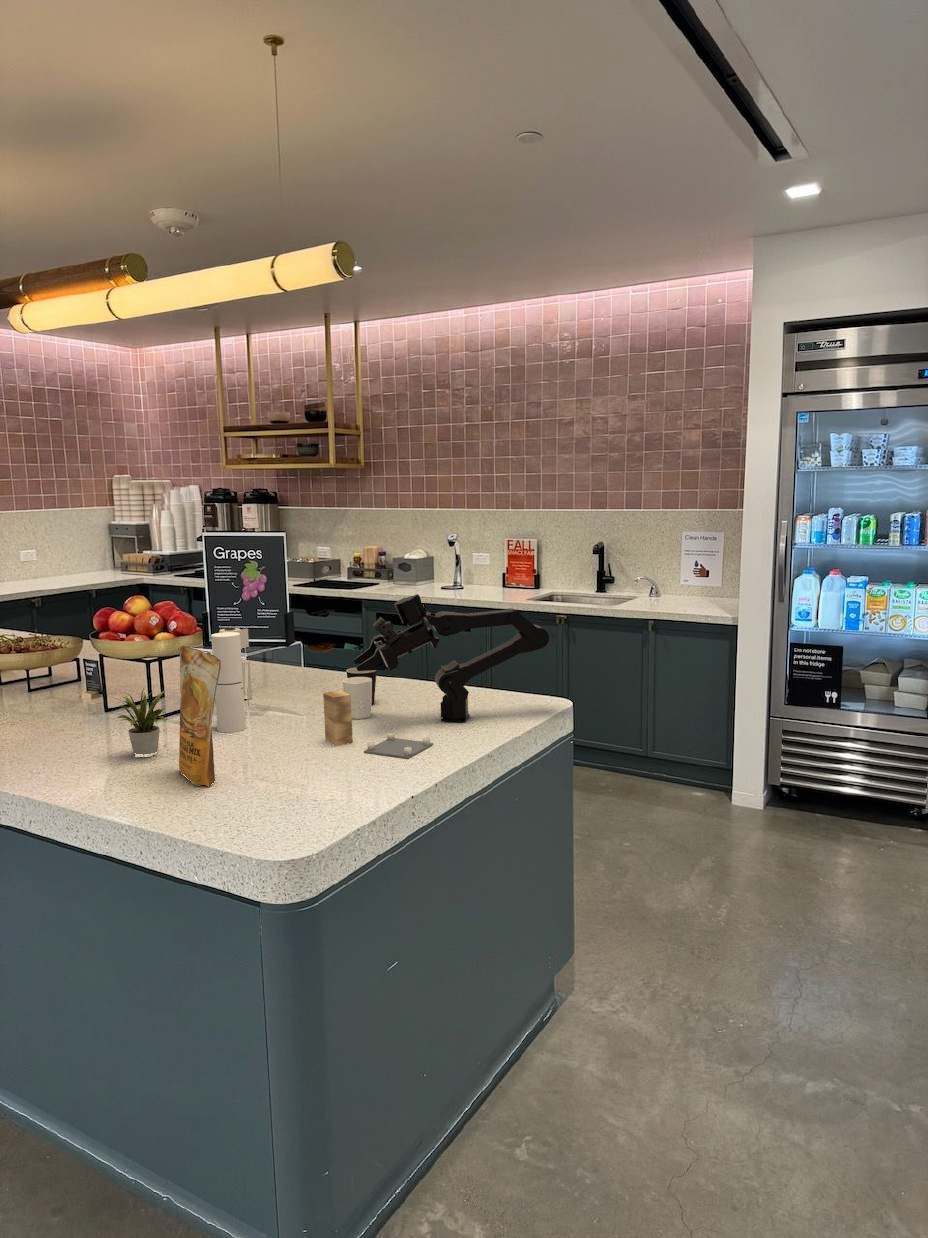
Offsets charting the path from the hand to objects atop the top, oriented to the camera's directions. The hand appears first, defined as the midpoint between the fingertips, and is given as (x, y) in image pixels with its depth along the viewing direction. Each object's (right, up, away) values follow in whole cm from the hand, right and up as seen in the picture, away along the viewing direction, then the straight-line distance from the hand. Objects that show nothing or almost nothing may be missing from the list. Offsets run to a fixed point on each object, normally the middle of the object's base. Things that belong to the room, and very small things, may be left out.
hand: (355, 665), depth 233 cm
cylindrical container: (-33, -17, +3) cm, 37 cm away
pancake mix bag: (-30, -23, -35) cm, 51 cm away
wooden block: (-3, -18, -11) cm, 21 cm away
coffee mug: (-1, -12, +27) cm, 30 cm away
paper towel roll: (-39, -12, +33) cm, 53 cm away
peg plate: (+12, -19, -18) cm, 29 cm away
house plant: (-49, -21, -19) cm, 56 cm away
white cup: (-1, -15, +13) cm, 20 cm away
